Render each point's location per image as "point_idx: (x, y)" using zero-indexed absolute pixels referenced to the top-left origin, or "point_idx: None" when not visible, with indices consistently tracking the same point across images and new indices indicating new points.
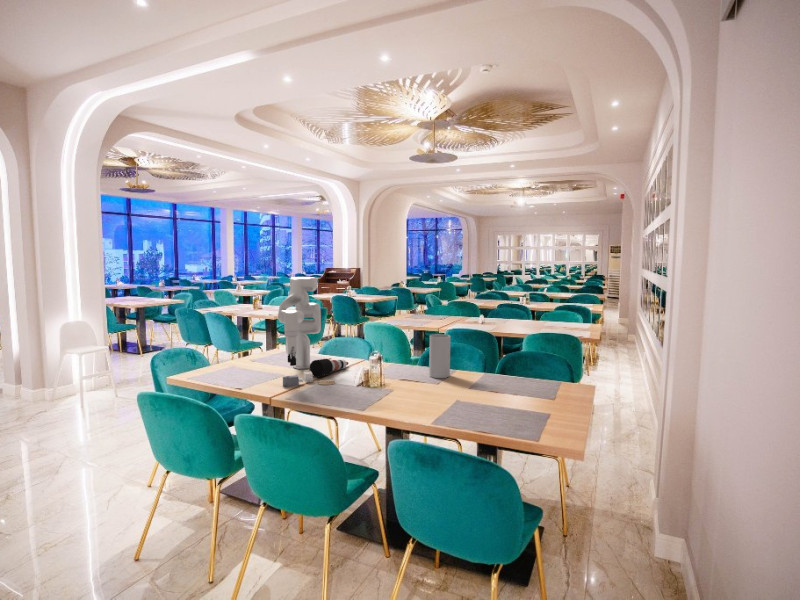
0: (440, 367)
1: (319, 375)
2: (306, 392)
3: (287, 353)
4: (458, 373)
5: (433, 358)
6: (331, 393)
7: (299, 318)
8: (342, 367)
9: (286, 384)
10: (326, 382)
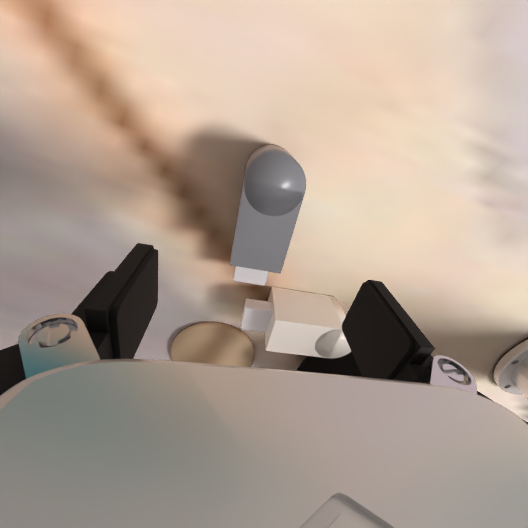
0: None
1: (302, 365)
2: (59, 224)
3: (106, 383)
4: None
5: None
6: (14, 316)
7: None
8: None
9: (246, 165)
10: (201, 353)
